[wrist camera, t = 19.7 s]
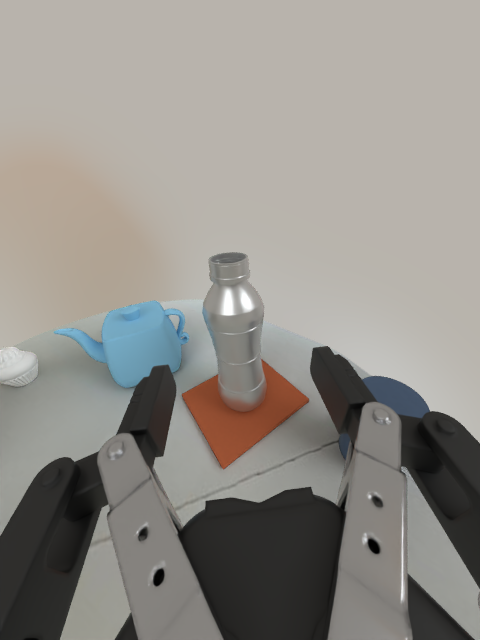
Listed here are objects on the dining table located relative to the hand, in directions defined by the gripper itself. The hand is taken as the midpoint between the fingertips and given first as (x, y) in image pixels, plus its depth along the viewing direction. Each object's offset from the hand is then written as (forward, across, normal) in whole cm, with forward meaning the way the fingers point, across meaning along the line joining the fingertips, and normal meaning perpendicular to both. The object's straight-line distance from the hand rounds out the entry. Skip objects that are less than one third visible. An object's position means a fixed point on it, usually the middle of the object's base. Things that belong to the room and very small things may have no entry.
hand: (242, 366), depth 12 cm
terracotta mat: (+11, 0, +18) cm, 21 cm away
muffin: (+20, +38, +18) cm, 46 cm away
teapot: (+21, +17, +18) cm, 32 cm away
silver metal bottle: (+11, 0, +17) cm, 20 cm away
